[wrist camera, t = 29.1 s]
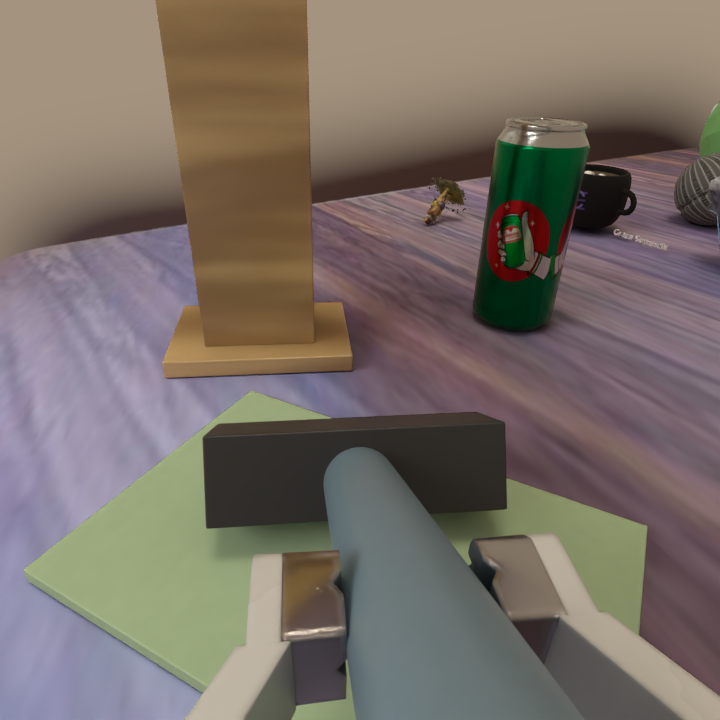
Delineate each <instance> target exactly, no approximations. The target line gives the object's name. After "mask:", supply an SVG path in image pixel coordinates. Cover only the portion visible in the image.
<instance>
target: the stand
mask: <svg viewBox="0 0 720 720" xmlns="http://www.w3.org/2000/svg"><path fill="white" fill-rule="evenodd" d="M156 6H157V14H158V21H159V28H160V35H161V42H162V49H163V56H164V63H165V70H166V77H167V84H168V91H169V98H170V105H171V111H172V118H173V126H174V132H175V140H176V147H177V154H178V161H179V168H180V175H181V182H182V189H183V196H184V203H185V210H186V217H187V224H188V231H189V238H190V245H191V252H192V259H193V266H194V273H195V280H196V287H197V294H198V301H199V306H185V307H184V309H183V311H182V314H181V316H180V319H179V322H178V324H177V327H176V329H175V332H174V334H173V337H172V339H171V342H170V344H169V347H168V349H167V352H166V354H165V357H164V360H163V362H162V365H163V370H164V375H165V378H177V377H202V376H227V375H253V374H278V373H303V372H329V371H351V370H352V369H353V355H352V350H351V345H350V339H349V334H348V329H347V324H346V319H345V314H344V309H343V304H342V302H323V303H314V291H313V248H312V205H311V164H310V163H311V162H310V123H309V120H310V119H309V80H308V79H309V77H308V36H307V35H308V34H307V0H156Z"/></svg>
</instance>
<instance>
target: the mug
mask: <svg viewBox="0 0 720 720" xmlns="http://www.w3.org/2000/svg"><path fill="white" fill-rule="evenodd" d="M631 179H632V178H631V174H630V172H628V171H626V170H624V169H620V168H616V167H610V166H603V165H590V164H586V167H585V171H584V176H583V180H582V184H581V189H580V193H579V198H578V202H577V206H576V211H575V215H574V220H573V224H572V225H573V226H576V227H581V228H589V229H599V228H604V227H607V226H610V225H611V224H613V223H614V222H615V221H616V220H617V219H618V217H619V216H620V215H624V216H625V215H630V214H631V213H632V212H633V211H634V210H635V208H636V203H637V200H636V196H635V194H634V193H633V192H632V191H630V187H631ZM628 197H629V198H630V200H631V205H630V207H629V208H628V209H627V210H624V208H625V205H626V202H627V198H628ZM616 230H618V231H620V230H619V229H615V230H614V235H618V234H619V235H618V236H620V235H621V233H623V232H619V233H617V234H616ZM627 235H630V234H626V233H623V235H621V237H623V238H626V239H628V238H627ZM638 237H640V236H639V235H637V236H636V239H637V240H635V241H636V242H637V241H639V243H643V245H645V244H648V245H650V246H652V247H653V246H654V244H655V247H657V248H658V249H660V248H659V245H662V244H664V243H662V244H658V245H657V243H655V242H652V241H648V240H646V239H645V240H644V239H642V238H640V239H639V238H638ZM632 238H633V235H630V236H629V239H630V240H632ZM641 239H642V241H641ZM643 241H644V242H643ZM646 241H647V242H646ZM645 242H646V243H645ZM648 242H651V243H648ZM652 243H653V244H652ZM663 246H664V247H663ZM667 247H668V246H666V243H665V244H664V245H662V246H661V249H663V250H665V251H667Z"/></svg>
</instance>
